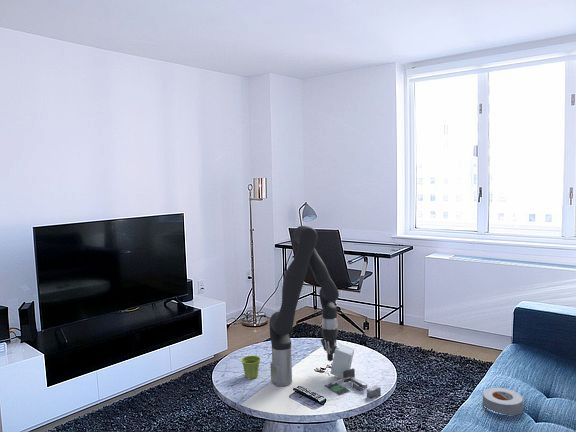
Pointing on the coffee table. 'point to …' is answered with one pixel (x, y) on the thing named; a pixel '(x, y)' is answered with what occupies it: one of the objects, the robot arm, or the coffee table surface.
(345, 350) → the skincare box
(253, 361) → the plant pot
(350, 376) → the grey l-shaped bracket
